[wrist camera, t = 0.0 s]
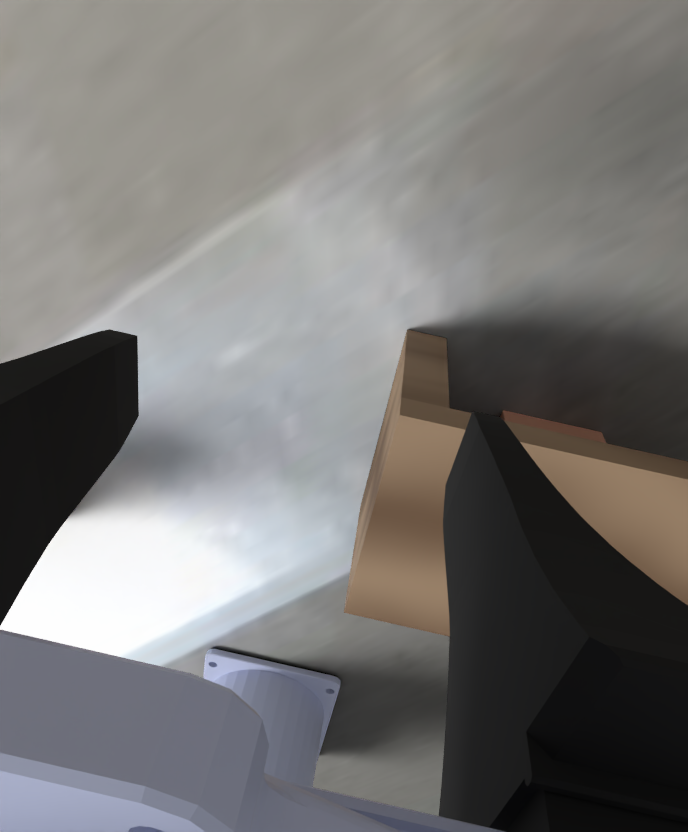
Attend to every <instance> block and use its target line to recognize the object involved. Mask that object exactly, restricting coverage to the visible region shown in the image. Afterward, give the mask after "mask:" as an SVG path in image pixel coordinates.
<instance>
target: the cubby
mask: <svg viewBox="0 0 688 832" xmlns="http://www.w3.org/2000/svg"><path fill="white" fill-rule="evenodd" d="M471 414H472V413H469V412H464V411H460V410H455V409H451V408H450V406H449V384H448V361H447V338H443V337H439V336H434V335H430V334H425V333H421V332H416V331H412V330H407V333H406V336H405V340H404V344H403V348H402V351H401V355H400V359H399V363H398V367H397V370H396V374H395V378H394V382H393V385H392V389H391V393H390V397H389V401H388V404H387V408H386V412H385V416H384V419H383V423H382V427H381V431H380V435H379V438H378V442H377V446H376V450H375V454H374V457H373V461H372V465H371V469H370V472H369V476H368V480H367V484H366V488H365V491H364V495H363V499H362V503H361V507H360V513H359V520H358V526H357V532H356V539H355V545H354V552H353V558H352V564H351V571H350V577H349V584H348V590H347V596H346V603H345V609H344V613H349V614H353V615H357V616H362V617H366V618H371V619H375V620H379V621H384V622H388V623H393V624H397V625H401V626H406V627H410V628H415V629H419V630H423V631H428V632H432V633H437V634H441V635H445V636H450V624H449V605H448V592H447V578H446V565H445V552H444V537H443V512H444V498H445V485H446V482H447V480H448V477H449V474H450V471H451V469H452V466H453V463H454V460H455V458H456V455H457V452H458V449H459V447H460V444H461V441H462V438H463V436H464V433H465V430H466V427H467V425H468V422H469V419H470V416H471ZM505 423H506V424H507V425H508V427H509V428H510V429H511V431H512V432H513V433H514V435H515V436H516V437H517V439H518V440H519V441H520V443H521V444H522V445H523V447H524V448H525V450H526V451H527V452H528V454H529V455H530V456H531V458H532V459H533V460H534V462H535V463H536V464H537V465H538V467H539V468H540V469H541V471H542V472H543V473H544V474H545V476H546V477H547V478H548V479H549V481H550V482H551V483H552V484H553V485H554V486H555V488H556V489H557V490H558V491H559V492H560V494H561V495H562V496H563V497H564V498H565V499H566V500H567V501H568V502H569V504H570V505H571V506H572V507H573V508H574V509H575V510H576V511H577V512H578V514H579V515H580V516H581V517H582V518H583V519H584V520H585V521H586V522H587V523H588V524H589V525H590V526H591V527H592V528H593V529H595V530H596V531H597V532H598V533H599V534H600V535H601V536H602V537H603V538H604V539H605V540H606V541H607V542H608V543H609V544H610V545H611V546H613V547H614V548H615V549H616V550H617V551H618V552H619V553H621V554H622V555H623V556H624V557H625V558H626V559H627V560H629V561H630V562H631V563H632V564H634V565H635V566H636V567H637V568H639V569H640V570H641V571H642V572H644V573H645V574H646V575H647V576H649V577H650V578H651V579H652V580H654V581H655V582H656V583H657V584H659V585H660V586H662V587H663V588H664V589H666V590H667V591H668V592H670V593H671V594H672V595H674V596H675V597H676V598H678V599H679V600H681V601H682V602H684V603H685V604H687V605H688V461H683V460H679V459H674V458H670V457H665V456H661V455H656V454H652V453H647V452H643V451H639V450H634V449H630V448H625V447H621V446H616V445H612V444H607V443H603V442H598V441H594V440H589V439H585V438H580V437H576V436H571V435H567V434H563V433H558V432H554V431H549V430H545V429H540V428H536V427H531V426H527V425H522V424H518V423H513V422H509V421H505Z"/></svg>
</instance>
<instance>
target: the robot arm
mask: <svg viewBox="0 0 688 832" xmlns="http://www.w3.org/2000/svg"><path fill="white" fill-rule="evenodd" d="M138 416H139V412H138V353H137V336H136V335H131V334H127V333H122V332H118V331H113V330H105V331H100V332H97V333H93V334H90V335H87V336H84V337H80V338H77V339H74V340H71V341H69V342H66V343H63V344H60V345H57V346H54V347H51V348H48V349H45V350H42V351H39V352H36V353H33V354H30V355H27V356H24V357H21V358H18V359H15V360H11V361H8V362H5V363H1V364H0V625H1V623H2V622H3V620H4V618H5V616H6V615H7V613H8V611H9V609H10V608H11V606H12V604H13V602H14V601H15V599H16V597H17V596H18V594H19V592H20V590H21V589H22V587H23V585H24V583H25V582H26V580H27V578H28V577H29V575H30V573H31V572H32V570H33V569H34V567H35V565H36V564H37V562H38V560H39V559H40V557H41V555H42V554H43V552H44V551H45V549H46V547H47V546H48V544H49V543H50V541H51V540H52V538H53V537H54V536H55V534H56V533H57V531H58V530H59V529H60V527H61V526H62V525H63V523H64V522H65V521H66V519H67V518H68V517H69V516H70V514H71V513H72V512H73V510H74V509H75V508H76V507H77V505H78V504H79V503H80V502H81V500H82V499H83V498H84V496H85V495H86V494H87V493H88V491H89V490H90V489H91V487H92V486H93V485H94V484H95V482H96V481H97V480H98V478H99V477H100V476H101V475H102V473H103V472H104V471H105V469H106V468H107V467H108V465H109V464H110V463H111V462H112V460H113V459H114V457H115V456H116V455H117V453H118V452H119V450H120V449H121V447H122V445H123V444H124V442H125V440H126V438H127V437H128V435H129V433H130V431H131V429H132V427H133V425H134V424H135V422H136V420H137V418H138ZM443 537H444V552H445V565H446V578H447V592H448V605H449V624H450V645H449V673H448V694H447V713H446V731H445V745H444V759H443V773H442V787H441V798H440V809H439V816H436V815H431V814H427V813H422V812H418V811H414V810H409V809H405V808H401V807H396V806H392V805H388V804H383V803H379V802H375V801H370V800H366V799H362V798H357V797H353V796H349V795H344V794H340V793H336V792H331V791H327V790H323V789H318V788H314V787H313V781H314V775H315V769H316V763H317V760H318V757H319V754H320V751H321V747H322V744H323V741H324V738H325V734H326V731H327V728H328V725H329V722H330V718H331V715H332V712H333V709H334V705H335V702H336V699H337V696H338V692H339V689H340V684H341V681H340V679H339V678H337V677H335V676H332V675H328V674H323V673H319V672H315V671H310V670H306V669H301V668H297V667H293V666H288V665H284V664H280V663H275V662H271V661H266V660H262V659H258V658H253V657H249V656H245V655H240V654H236V653H231V652H227V651H223V650H218V649H209V650H208V651H207V653H206V656H205V666H204V678H201V677H199V676H196V675H194V674H191V673H187V672H183V671H178V670H174V669H169V668H165V667H161V666H156V665H152V664H148V663H143V662H139V661H135V660H130V659H126V658H121V657H117V656H113V655H108V654H104V653H100V652H95V651H91V650H87V649H82V648H78V647H73V646H69V645H65V644H60V643H56V642H52V641H47V640H43V639H39V638H34V637H30V636H25V635H21V634H17V633H12V632H8V631H4V630H0V832H688V605H687V604H685V603H684V602H682V601H681V600H679V599H678V598H676V597H675V596H674V595H672V594H671V593H670V592H668V591H667V590H666V589H664V588H663V587H662V586H660V585H659V584H657V583H656V582H655V581H654V580H652V579H651V578H650V577H649V576H647V575H646V574H645V573H644V572H642V571H641V570H640V569H639V568H637V567H636V566H635V565H634V564H632V563H631V562H630V561H629V560H627V559H626V558H625V557H624V556H623V555H622V554H621V553H619V552H618V551H617V550H616V549H615V548H614V547H613V546H611V545H610V544H609V543H608V542H607V541H606V540H605V539H604V538H603V537H602V536H601V535H600V534H599V533H598V532H597V531H596V530H595V529H593V528H592V527H591V526H590V525H589V524H588V523H587V522H586V521H585V520H584V519H583V518H582V517H581V516H580V515H579V514H578V512H577V511H576V510H575V509H574V508H573V507H572V506H571V505H570V504H569V502H568V501H567V500H566V499H565V498H564V497H563V496H562V495H561V494H560V492H559V491H558V490H557V489H556V488H555V486H554V485H553V484H552V483H551V482H550V481H549V479H548V478H547V477H546V476H545V474H544V473H543V472H542V471H541V469H540V468H539V467H538V465H537V464H536V463H535V462H534V460H533V459H532V458H531V456H530V455H529V454H528V452H527V451H526V450H525V448H524V447H523V445H522V444H521V443H520V441H519V440H518V439H517V437H516V436H515V435H514V433H513V432H512V431H511V429H510V428H509V427H508V425H507V424H506V423H505V421H504V420H503V419H502V418H501V417H497V416H493V415H488V414H484V413H479V412H475V411H472V414H471V416H470V419H469V422H468V425H467V427H466V430H465V433H464V436H463V438H462V441H461V444H460V447H459V449H458V452H457V455H456V458H455V460H454V463H453V466H452V469H451V471H450V474H449V477H448V480H447V482H446V485H445V498H444V512H443Z"/></svg>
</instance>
